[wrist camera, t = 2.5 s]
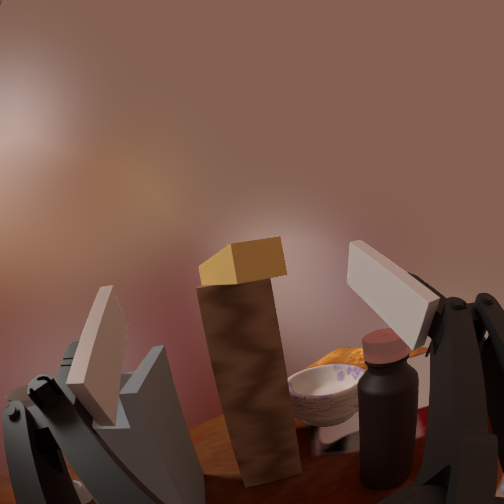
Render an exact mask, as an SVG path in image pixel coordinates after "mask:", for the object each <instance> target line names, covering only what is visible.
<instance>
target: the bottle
mask: <svg viewBox="0 0 504 504" xmlns="http://www.w3.org/2000/svg"><path fill="white" fill-rule="evenodd" d="M362 344H363V355H364V360H365V364H366V365H367V366H368V369H367V371H366V372H365V373H364V374H363V375H362V376H361V378H360V379H359V381H358V385H357V391H358V408H359V433H360V479H361V482H362V483H363V484H364V485H365V486H367V487H369V488H372V489H378V490H380V489H389V488H392V487H395V486H397V485H399V484H401V483H402V482H403V481H404V480H405V479H406V478H407V477H408V475H409V474H410V472H411V466H412V460H413V453H414V445H415V436H416V425H417V411H418V385H419V384H418V383H419V380H418V373H417V371H416V370H415V369H414V368H413V367H411V366H410V365H409V364H408V363H407V359H408V357H409V346H408V345H407V344H406V343H405V342H404V341H403V340H402V339H401V338H400V337H399V336H398V335H397V334H396V332H395V331H394V330H393V329H392V328H387V329H381V330H377V331H374V332H371V333H369V334H367V335H366V336H364V337H363V339H362Z"/></svg>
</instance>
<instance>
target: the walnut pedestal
mask: <svg viewBox="0 0 504 504" xmlns="http://www.w3.org/2000/svg"><path fill="white" fill-rule="evenodd" d="M196 289H197V295H198V301H199V306H200V311H201V316H202V321H203V326H204V331H205V336H206V341H207V345H208V350H209V355H210V359H211V364H212V368H213V373H214V376H215V381H216V385H217V389H218V393H219V398H220V402H221V405H222V409H223V413H224V417H225V421H226V425H227V428H228V432H229V436H230V439H231V443H232V446H233V450H234V453H235V457H236V460H237V463H238V467H239V470H240V473H241V476H242V479H243V483H244V486H245V488H246V487H251V486H256V485H260V484H265V483H269V482H273V481H277V480H280V479H284V478H288V477H291V476H295V475H298V474H301V473H302V467H301V460H300V454H299V447H298V441H297V435H296V428H295V422H294V416H293V409H292V403H291V397H290V391H289V385H288V379H287V373H286V367H285V361H284V355H283V349H282V343H281V337H280V331H279V326H278V320H277V314H276V308H275V303H274V297H273V292H272V286H271V280H270V278H267V279H262V280H257V281H252V282H246V283H241V284H228V285H201V286H198V287H197V288H196Z"/></svg>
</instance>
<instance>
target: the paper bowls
mask: <svg viewBox="0 0 504 504" xmlns="http://www.w3.org/2000/svg"><path fill="white" fill-rule="evenodd" d="M365 372H366V371H365V370H363V369H362V368H360V367H358V366H354V365H349V364H331V365H322V366H317V367H312V368H309V369H305V370H302V371H300V372H298V373H295V374H294V375H292V376H291V377H289V378H288V385H289V391H290V397H291V403H292V409H293V416H294V417H295V418H297V419H301V420H302V421H304V422H305V423H307V424H309V425H312V426H317V427H328V426H333V425H337V424H340V423H343V422H344V421H346V420H348V419H349V418H351V416H353V414H354V413H356V412H357V411H358V410H359V408H358V391H357V385H358V381H359V379H360V378H361V376H362V375H363V374H364V373H365Z"/></svg>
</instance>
